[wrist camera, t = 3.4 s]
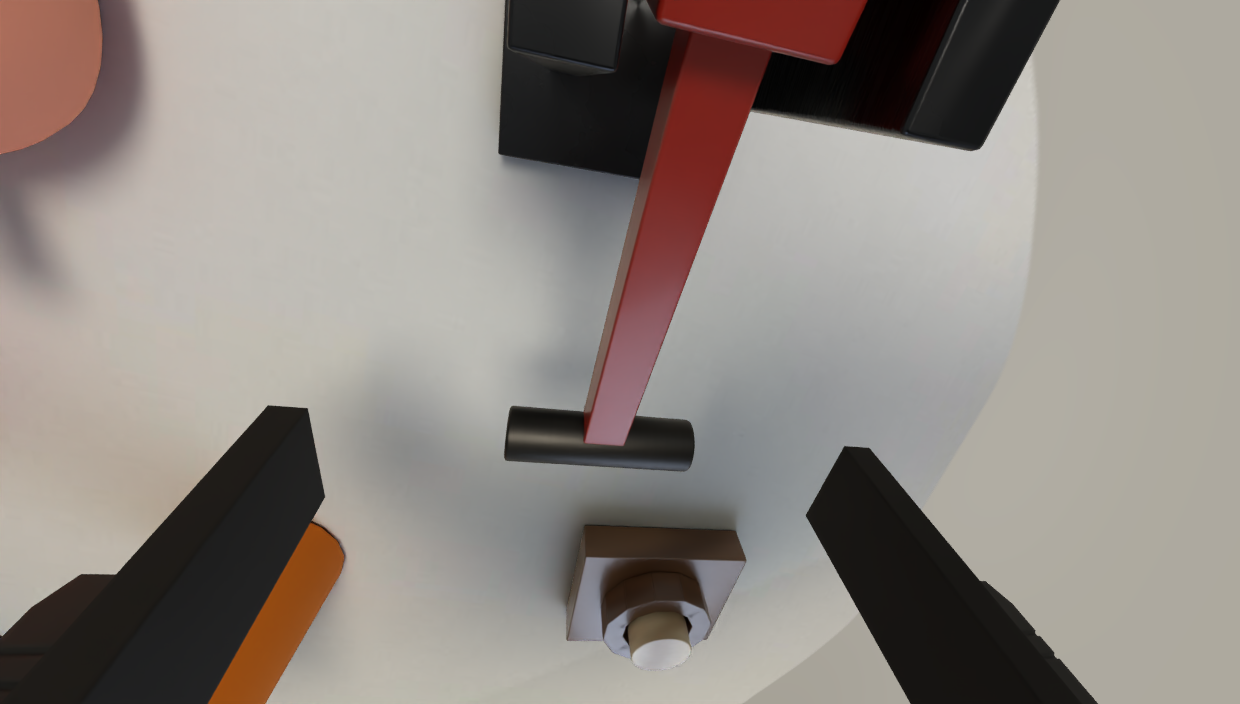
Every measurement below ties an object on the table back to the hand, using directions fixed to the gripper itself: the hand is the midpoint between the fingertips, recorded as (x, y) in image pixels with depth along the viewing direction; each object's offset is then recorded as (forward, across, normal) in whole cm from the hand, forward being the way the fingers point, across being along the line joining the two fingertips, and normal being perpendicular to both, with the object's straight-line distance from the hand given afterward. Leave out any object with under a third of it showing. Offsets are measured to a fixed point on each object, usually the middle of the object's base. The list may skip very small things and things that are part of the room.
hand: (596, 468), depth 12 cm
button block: (+10, +7, -19) cm, 23 cm away
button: (+7, +7, -19) cm, 22 cm away
